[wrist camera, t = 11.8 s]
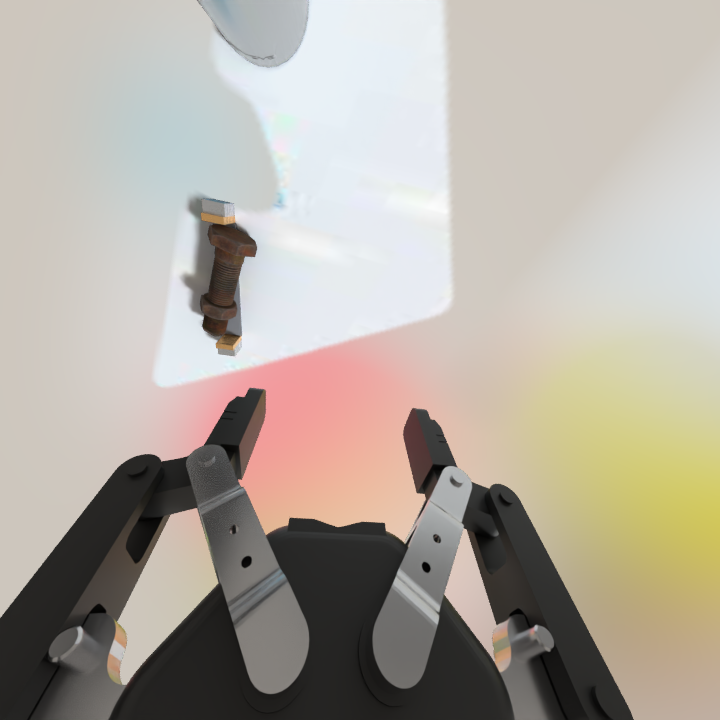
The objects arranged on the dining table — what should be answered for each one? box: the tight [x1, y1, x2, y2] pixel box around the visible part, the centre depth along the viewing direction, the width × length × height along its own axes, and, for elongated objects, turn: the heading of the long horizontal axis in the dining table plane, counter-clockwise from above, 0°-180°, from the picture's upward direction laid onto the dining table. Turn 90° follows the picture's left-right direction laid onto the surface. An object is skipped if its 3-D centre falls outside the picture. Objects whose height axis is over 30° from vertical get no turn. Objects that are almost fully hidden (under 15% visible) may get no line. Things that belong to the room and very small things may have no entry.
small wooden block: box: [216, 334, 242, 356], centre depth 41 cm, size 2×2×4 cm
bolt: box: [200, 224, 257, 336], centre depth 35 cm, size 6×5×15 cm
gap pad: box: [213, 223, 242, 336], centre depth 37 cm, size 17×3×1 cm, turn 169°
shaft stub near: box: [201, 199, 235, 225], centre depth 31 cm, size 2×2×4 cm
